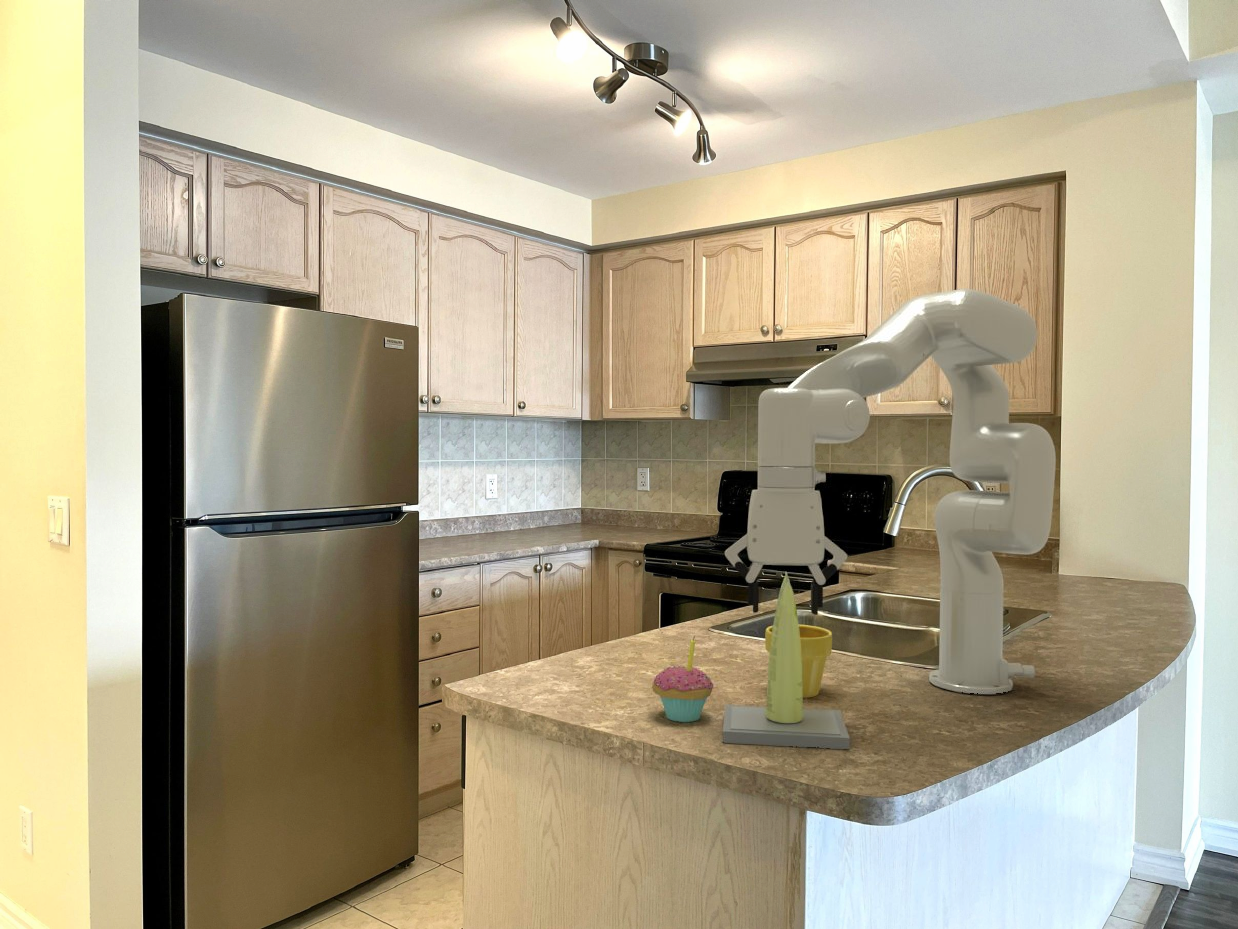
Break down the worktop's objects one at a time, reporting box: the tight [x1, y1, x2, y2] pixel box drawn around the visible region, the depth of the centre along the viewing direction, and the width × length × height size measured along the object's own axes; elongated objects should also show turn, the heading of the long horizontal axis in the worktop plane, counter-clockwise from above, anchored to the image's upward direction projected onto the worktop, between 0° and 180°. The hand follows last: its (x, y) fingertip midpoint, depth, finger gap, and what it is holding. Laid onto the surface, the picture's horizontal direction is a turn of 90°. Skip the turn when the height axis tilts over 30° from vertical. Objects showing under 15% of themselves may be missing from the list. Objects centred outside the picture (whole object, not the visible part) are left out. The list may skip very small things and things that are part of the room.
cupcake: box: [651, 635, 715, 723], centre depth 124 cm, size 9×8×12 cm
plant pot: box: [764, 624, 833, 699], centre depth 137 cm, size 10×10×10 cm
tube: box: [765, 571, 804, 723], centre depth 118 cm, size 6×5×20 cm
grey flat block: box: [722, 704, 851, 750], centre depth 118 cm, size 16×12×2 cm
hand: (784, 611), depth 118 cm, fingers open, 7 cm apart
